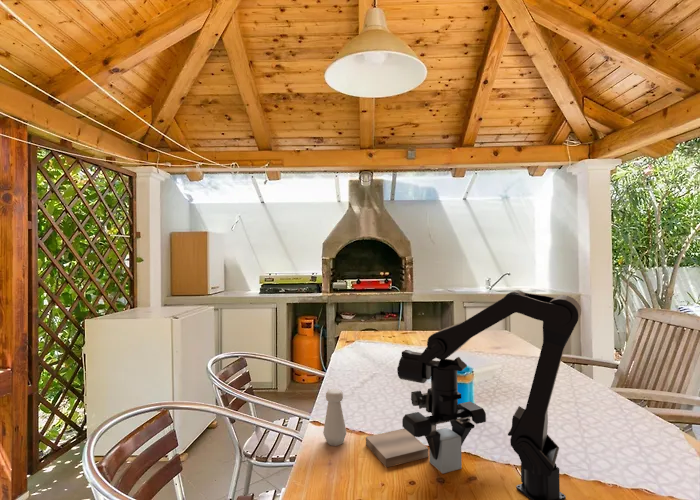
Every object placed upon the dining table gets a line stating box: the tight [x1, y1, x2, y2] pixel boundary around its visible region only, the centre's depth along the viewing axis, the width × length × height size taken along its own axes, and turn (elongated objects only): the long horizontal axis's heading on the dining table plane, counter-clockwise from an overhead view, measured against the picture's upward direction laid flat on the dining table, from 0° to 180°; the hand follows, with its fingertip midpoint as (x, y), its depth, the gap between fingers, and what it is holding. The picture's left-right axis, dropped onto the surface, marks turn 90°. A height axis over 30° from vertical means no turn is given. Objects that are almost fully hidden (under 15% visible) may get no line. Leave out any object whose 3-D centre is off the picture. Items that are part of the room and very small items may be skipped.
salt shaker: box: [322, 388, 347, 447], centre depth 101 cm, size 6×6×13 cm
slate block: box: [428, 427, 462, 474], centre depth 90 cm, size 5×5×7 cm
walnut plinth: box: [365, 427, 429, 468], centre depth 96 cm, size 11×11×2 cm
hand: (445, 456), depth 90 cm, fingers closed on slate block, 5 cm apart
